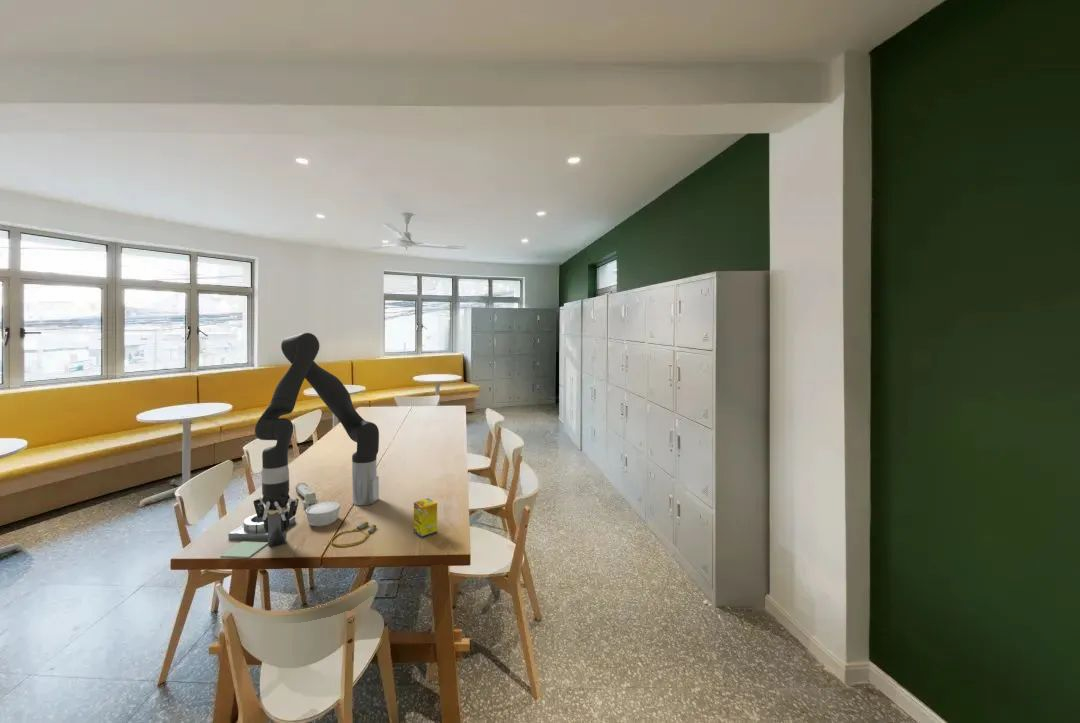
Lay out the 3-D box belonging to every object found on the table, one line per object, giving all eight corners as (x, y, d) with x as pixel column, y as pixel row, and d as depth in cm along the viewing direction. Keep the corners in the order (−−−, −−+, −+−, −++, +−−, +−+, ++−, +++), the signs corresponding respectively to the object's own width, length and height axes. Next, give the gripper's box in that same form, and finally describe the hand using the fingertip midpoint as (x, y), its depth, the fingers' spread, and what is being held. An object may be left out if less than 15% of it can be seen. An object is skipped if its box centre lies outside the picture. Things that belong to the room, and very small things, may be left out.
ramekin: (303, 519, 157) (303, 505, 157) (336, 512, 164) (336, 499, 164) (308, 531, 148) (308, 516, 148) (343, 522, 155) (343, 508, 155)
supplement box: (413, 532, 148) (413, 502, 147) (428, 527, 152) (428, 497, 152) (421, 538, 144) (421, 507, 143) (437, 533, 148) (437, 502, 147)
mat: (268, 543, 139) (268, 542, 139) (249, 557, 130) (249, 556, 130) (241, 542, 139) (241, 541, 139) (220, 556, 130) (220, 555, 130)
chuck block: (295, 522, 155) (295, 510, 155) (269, 540, 141) (269, 527, 141) (257, 520, 155) (257, 509, 155) (228, 539, 142) (228, 526, 141)
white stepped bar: (306, 481, 187) (318, 489, 168) (307, 496, 187) (319, 507, 167) (293, 483, 184) (303, 492, 164) (293, 499, 184) (304, 510, 164)
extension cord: (385, 536, 146) (385, 530, 146) (338, 552, 135) (338, 546, 135) (369, 524, 155) (369, 519, 155) (323, 539, 143) (323, 533, 143)
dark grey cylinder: (289, 539, 142) (288, 504, 141) (279, 547, 137) (279, 510, 136) (274, 539, 142) (273, 504, 141) (264, 546, 137) (263, 510, 136)
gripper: (304, 475, 142) (305, 525, 143) (261, 474, 142) (263, 524, 143) (290, 483, 134) (291, 536, 135) (245, 482, 135) (247, 534, 136)
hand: (276, 529), depth 139 cm, fingers closed on dark grey cylinder, 5 cm apart
